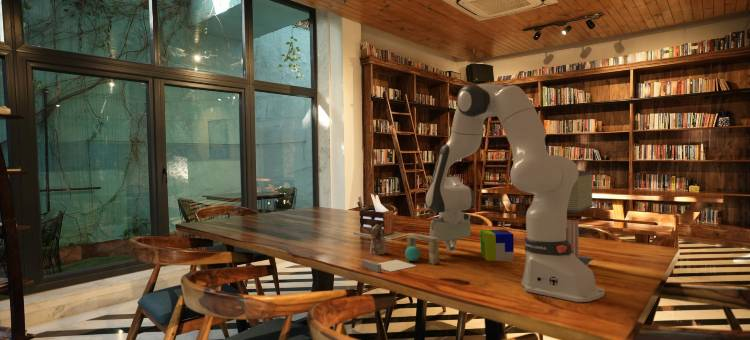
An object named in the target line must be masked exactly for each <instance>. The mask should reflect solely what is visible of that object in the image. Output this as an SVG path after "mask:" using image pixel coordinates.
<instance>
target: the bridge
mask: <svg viewBox="0 0 750 340" xmlns="http://www.w3.org/2000/svg"><path fill="white" fill-rule="evenodd" d="M417 240H419V241H426V242H428V255H429V256H428V261H429V262H428V263H429V264H430V265H437V264H440V254H439V252H440V248H439V246H440V245H439V244H440V242H439V238H435V237H431V236H429V235H425V234H421V233H415V232H410V233H406V249H407V248H408V247H411V246H414V247H416V248H417Z"/></svg>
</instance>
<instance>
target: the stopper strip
mask: <svg viewBox="0 0 750 340" xmlns="http://www.w3.org/2000/svg"><path fill="white" fill-rule="evenodd" d="M378 263H379V262H375V261H372V260H369V259H366V258H365V259H362V260H361V267H362V268H365V269H368V270H370V271H371V272H375V273H382V269H381V264H378Z"/></svg>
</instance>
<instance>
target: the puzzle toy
mask: <svg viewBox="0 0 750 340" xmlns="http://www.w3.org/2000/svg"><path fill="white" fill-rule="evenodd" d="M514 237H515V236H514V233H512V232H510V231H509V230H507V229H481V230H480V255H481V257H483V258H484V259H485V261H487V262H488V261H489V262H490V261H491V262H493V261H494V262H496V261H500V262H501V261H504V262H505V261H515V260H514V259H515V257H514V255H515V254H514V253H515V252H514V251H515V250H514V249H515V248H514V245H515V244H514Z"/></svg>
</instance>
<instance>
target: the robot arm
mask: <svg viewBox="0 0 750 340" xmlns="http://www.w3.org/2000/svg"><path fill="white" fill-rule="evenodd" d="M496 117H497V119H498V120H499V123H500V125H501V128H502V129H503V132H504V134H505V137H506V139H507V141H508V143H509V145H510V148H511V154H512V162H513V164H512V167H511V169H510V174H509V177H510V180H511V183H512V185H513V187H515V189H517V190H518V191H520V192H524V193H529V194H534V195H533V198H532V201H531V203H530V205H529V207H528V208H527V211H526V214H525V229H526V230H525V231H526V237H524V251H525V263H524V271H523V274H522V279H521V282H520V284H521V286H523V288H524V292H529V293H533V294H537V295H542V296H546V297H552V298H557V299H562V300H565V301H571V302H575V303H586V302H592V301H595V300H599V299H601V298H603V297H604V296H605V294H606V293H605V289H604V288H602V287H599V286H597V285H596V279H595V275H594V272H593V270H592V269H591V268H589V267H588V266H586V265H585V264H584V263H582V262H581V261H580V260H579V259H578V258H577V257H576V256H575V255H573V254H572V250H571V248H574V247H573V246H574V245H575V244H570V243H569V242H568V240H567V239H566V214H567V215H568V212H567V207H568V203H569V198H570V194H571V191H572V187H573V185H574V184H575V182H576V181H577V179H578V175H579V173H580V171H579V169H578V165H577V164H576V163H575V162H574V161H573V160H572V159H570V158H567V157H565V156H562V155H556V154H555V155H550V154H549V153H548V150H547V147H546V146H547V145H546V140H545V139H546V136H547V130H546V128H545V126H544V124H543V122H542V120H541V118H540V116H539V114H538V112H537V110H536V108H535V106H534V104H533V103H532V101H531V100H530V98H529V97H528V95H527V93H525V91H524V90H523V89H522V88H521V87H520V86H517V85H515V84H514V85H507V84H506V85H505V84H493V83H480V84H473V83H472V84H469V85H465V86H463V87H462V88H461V89H460V90H459V91H458V94H457V96H456V109H455V112H454V115H453V120H452V125H451V133H450V136H449V138H448V140H447V141H446V143H445V144H444V145H442V146H441V148H440V150H439V153H438V156H437V158H436V161H435V162H436V163H435V165H434V169H433V174H432V178H431V180H430V184H429V186H428V188H427V190H426V191H427V192H426V194H425V204H426V207H427V208H428V209H429V210H430V211H431V212H433V213H435V214H438V217H437V218H436V217H434V218H433V219H432V220H431V221H430V227H429V234H428V236H431V237H435V238H439V243H441V242H443V243H444V245H445V247H446V248H445V249H446V251H447V252H451V251H455V248H456V245H457V242H458V241H457V240H459V239H462V238H463V239H464V238H469V237H470V236H471V234H472V230H471V229H472V228H471V227H472V226H471V221H470V219H471V214H469V213H466V212H463V211H468V210H471V208H472V207H473V206H474V204H475V193H474V191H473V189H472V188H471V187H470V186H469V185H466V184H463V183H462V181H461V179H460V177H458V176H457V175H456V176H455V175H451V176H450V175H448V171H449V169H450V167H451V166H452V165H454V163H456V162H458V161H460V160H462V159H464V158H467V157H470V156H471V155H473V154H475V153H476V152H477V150H479V149H480V146H481V144H482V139H483V132H484V131H483V130H484V124H485V123H484V122H485V120H486V119H488V118H496Z"/></svg>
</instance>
